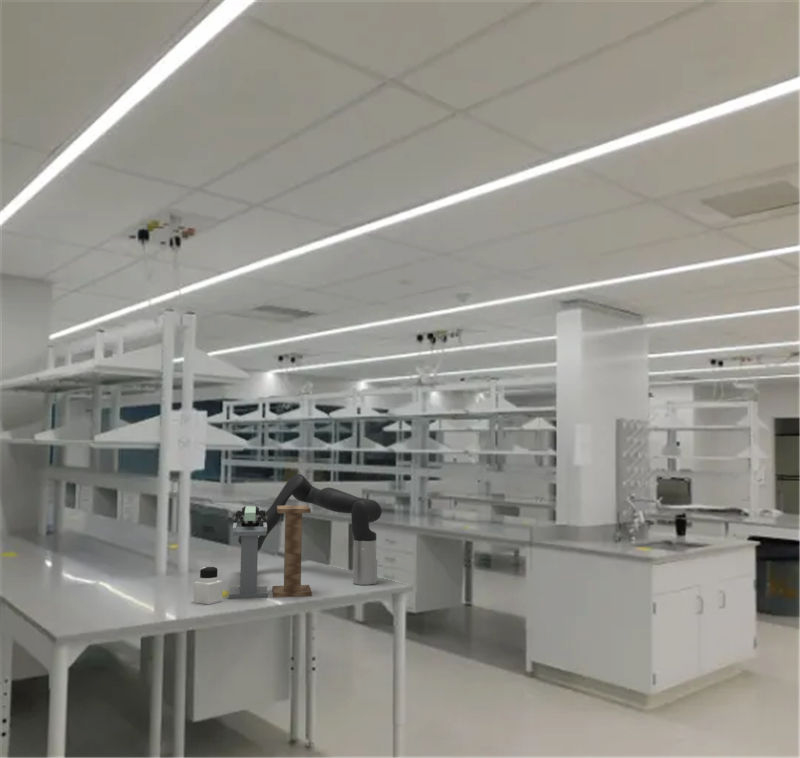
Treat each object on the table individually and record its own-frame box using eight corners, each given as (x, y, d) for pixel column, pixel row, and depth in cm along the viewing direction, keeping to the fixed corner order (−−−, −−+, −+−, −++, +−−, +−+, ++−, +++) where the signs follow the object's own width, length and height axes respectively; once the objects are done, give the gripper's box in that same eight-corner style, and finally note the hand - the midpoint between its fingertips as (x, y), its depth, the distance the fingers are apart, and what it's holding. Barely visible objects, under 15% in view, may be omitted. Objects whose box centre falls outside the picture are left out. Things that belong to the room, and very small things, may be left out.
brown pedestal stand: (308, 588, 287) (310, 505, 290) (311, 596, 272) (313, 508, 275) (272, 589, 285) (274, 505, 288) (273, 597, 269) (275, 509, 272)
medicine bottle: (222, 601, 263) (223, 566, 264) (207, 604, 257) (208, 569, 258) (207, 598, 267) (208, 565, 268) (193, 602, 260) (194, 567, 262)
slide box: (255, 513, 300) (255, 506, 300) (255, 520, 274) (255, 512, 275) (245, 513, 299) (245, 506, 299) (244, 520, 274) (244, 512, 274)
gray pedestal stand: (267, 589, 284) (268, 522, 287) (267, 598, 269) (269, 527, 271) (229, 590, 282) (231, 523, 284) (228, 599, 266) (230, 527, 268)
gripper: (233, 517, 306) (232, 499, 292) (267, 517, 309) (268, 499, 295) (232, 535, 302) (231, 517, 288) (267, 534, 304) (268, 517, 291)
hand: (250, 508), depth 291 cm, fingers closed on slide box, 4 cm apart
